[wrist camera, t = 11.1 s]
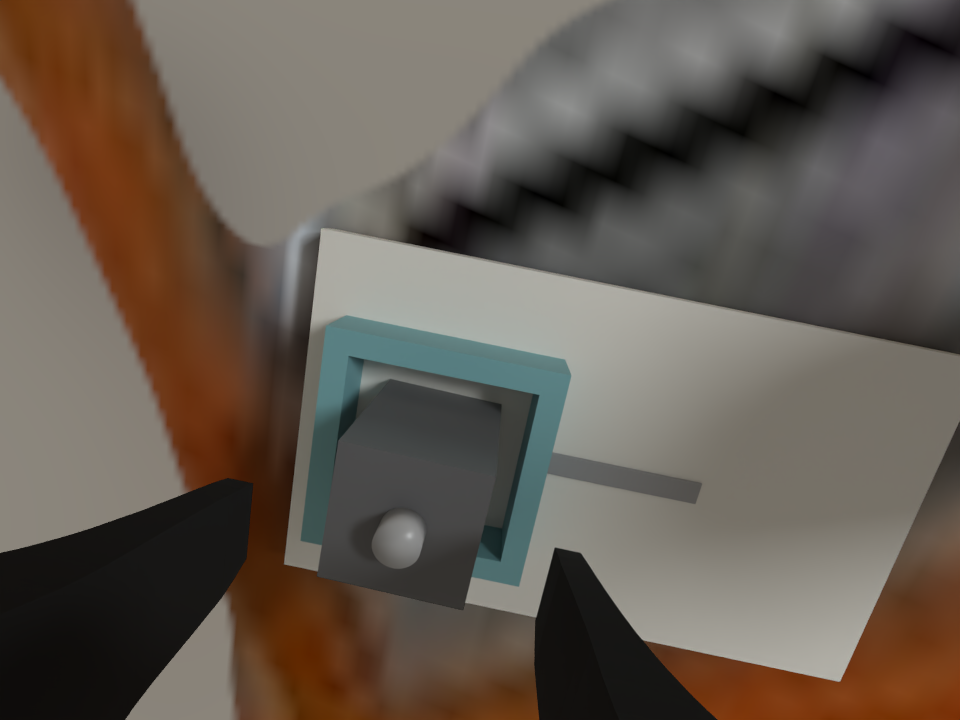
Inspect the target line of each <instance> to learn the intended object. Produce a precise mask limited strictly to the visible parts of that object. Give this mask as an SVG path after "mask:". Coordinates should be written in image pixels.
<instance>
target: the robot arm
mask: <svg viewBox="0 0 960 720" xmlns="http://www.w3.org/2000/svg"><path fill="white" fill-rule="evenodd" d="M252 490H253V483H248V482H244V481H239V480H234V479H229V478H227V479H224V480H220V481H217V482H214V483H212V484H209V485H206V486H204V487H201V488H198V489H196V490H193V491H191V492H188V493H186V494H183V495H181V496H178V497H176V498H173V499H170V500H168V501H166V502H163V503H160V504H157V505H155V506H152V507H150V508H147V509H145V510H142V511H139V512H136V513H134V514H131V515H128V516H125V517H122V518H119V519H116V520H114V521H111V522H108V523H105V524H102V525H100V526H96V527H94V528H91V529H88V530H84V531H81V532H78V533H75V534H72V535H68V536H65V537H61V538H58V539H54V540H50V541H47V542H44V543H40V544H36V545H32V546H29V547H24V548H20V549H16V550H12V551H7V552H3V553H0V720H125V719H126V718H127V716H128V715H129V713H130V712H131V710H132V709H133V707H134V706H135V705H136V703H137V702H138V701H139V699H140V698H141V697H142V696H143V694H144V693H145V692H146V690H147V689H148V688H149V686H150V685H151V684H152V682H153V681H154V680H155V679H156V677H157V676H158V675H159V674H160V673H161V672H162V670H163V669H164V668H165V667H166V666H167V664H168V663H169V662H170V661H171V659H172V658H173V657H174V656H175V654H176V653H177V652H178V651H179V650H180V649H181V647H182V646H183V645H184V644H185V642H186V641H187V640H188V639H189V638H190V636H191V635H192V634H193V633H194V631H195V630H196V629H197V628H198V626H199V625H200V624H201V623H202V622H203V620H204V619H205V618H206V617H207V615H208V614H209V613H210V612H211V610H212V609H213V608H214V607H215V606H216V604H217V603H218V602H219V600H220V599H221V598H222V597H223V595H224V594H225V592H226V590H227V589H228V587H229V586H230V584H231V583H232V581H233V580H234V578H235V576H236V575H237V573H238V571H239V570H240V568H241V566H242V565H243V563H244V561H245V560H246V558H247V546H248V535H249V524H250V512H251V501H252ZM534 665H535V677H536V688H537V700H538V710H539V720H717V719H716V718H715V717H714V716H713V715H712V714H711V713H710V712H708V711H707V710H706V709H705V708H704V707H703V706H702V705H701V704H700V703H699V702H698V701H697V700H696V699H695V698H694V697H693V696H692V695H691V694H690V693H689V692H688V691H687V690H686V689H685V688H684V687H683V686H682V685H681V684H680V682H679V681H678V680H677V679H676V678H675V677H674V676H673V675H672V674H671V673H670V672H669V671H668V670H667V669H666V668H665V666H664V665H663V664H662V663H661V662H660V661H659V660H658V658H657V657H656V656H655V655H654V654H653V653H652V651H651V650H650V649H649V648H648V646H647V645H646V644H645V643H644V641H643V640H642V639H641V638H640V636H639V635H638V634H637V633H636V631H635V630H634V629H633V628H632V626H631V625H630V624H629V622H628V621H627V620H626V618H625V617H624V616H623V614H622V613H621V611H620V610H619V609H618V607H617V606H616V604H615V603H614V602H613V600H612V599H611V597H610V596H609V594H608V593H607V592H606V590H605V589H604V587H603V586H602V584H601V583H600V581H599V580H598V578H597V577H596V575H595V574H594V572H593V570H592V569H591V567H590V566H589V564H588V563H587V561H586V560H585V558H584V557H583V555H582V554H581V553H579V552H575V551H570V550H565V549H560V548H556V547H555V548H554V552H553V556H552V560H551V564H550V567H549V571H548V575H547V579H546V582H545V586H544V590H543V594H542V598H541V601H540V605H539V609H538V613H537V617H536V621H535V662H534Z"/></svg>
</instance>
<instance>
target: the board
mask: <svg viewBox="0 0 960 720" xmlns="http://www.w3.org/2000/svg"><path fill="white" fill-rule="evenodd" d="M390 379H394V380H398V381H402V382H407V383H411V384H415V385H420V386H424V387H429V388H433V389H437V390H442V391H446V392H450V393H455V394H459V395H464V396H468V397H472V398H477V399H481V400H486V401H490V402H494V403H499V404H502V407H501V421H500V434H499V448H498V462H497V475H496V480H495V484H494V488H493V492H492V496H491V500H490V504H489V509H488V513H487V517H486V521H485V525H484V529H483V533H482V537H481V541H480V545H479V549H478V553H477V557H476V561H475V565H474V569H473V573H472V577H471V581H470V585H469V589H468V593H467V597H466V601H465V603H470V604H475V605H479V606H484V607H489V608H493V609H498V610H503V611H508V612H512V613H517V614H522V615H527V616H531V617H537V613H538V609H539V605H540V601H541V598H542V594H543V590H544V586H545V582H546V579H547V575H548V571H549V567H550V564H551V560H552V556H553V552H554V548H555V547H556V548H560V549H565V550H570V551H575V552H579V553H581V554H582V555H583V557H584V558H585V560H586V561H587V563H588V564H589V566H590V567H591V569H592V570H593V572H594V574H595V575H596V577H597V578H598V580H599V581H600V583H601V584H602V586H603V587H604V589H605V590H606V592H607V593H608V594H609V596H610V597H611V599H612V600H613V602H614V603H615V604H616V606H617V607H618V609H619V610H620V611H621V613H622V614H623V616H624V617H625V618H626V620H627V621H628V622H629V624H630V625H631V626H632V628H633V629H634V630H635V631H636V633H637V634H638V635H639V636H640V638H641V639H642V640H645V641H649V642H654V643H659V644H664V645H668V646H673V647H678V648H683V649H687V650H692V651H697V652H701V653H706V654H711V655H716V656H720V657H725V658H730V659H735V660H739V661H744V662H749V663H754V664H758V665H763V666H768V667H772V668H777V669H782V670H787V671H791V672H796V673H801V674H806V675H810V676H815V677H820V678H824V679H829V680H834V681H839V682H840V680H841V678H842V676H843V674H844V672H845V669H846V667H847V665H848V663H849V661H850V659H851V656H852V654H853V652H854V650H855V648H856V646H857V643H858V641H859V639H860V637H861V635H862V632H863V630H864V628H865V626H866V624H867V622H868V619H869V617H870V615H871V613H872V611H873V609H874V606H875V604H876V602H877V600H878V598H879V595H880V593H881V591H882V589H883V587H884V585H885V582H886V580H887V578H888V576H889V574H890V572H891V569H892V567H893V565H894V563H895V561H896V558H897V556H898V554H899V552H900V550H901V548H902V545H903V543H904V541H905V539H906V537H907V535H908V532H909V530H910V528H911V526H912V524H913V521H914V519H915V517H916V515H917V513H918V511H919V508H920V506H921V504H922V502H923V500H924V498H925V495H926V493H927V491H928V489H929V487H930V484H931V482H932V480H933V478H934V476H935V474H936V471H937V469H938V467H939V465H940V463H941V461H942V458H943V456H944V454H945V452H946V450H947V447H948V445H949V443H950V441H951V439H952V437H953V434H954V432H955V430H956V428H957V426H958V423H959V421H960V354H955V353H950V352H945V351H940V350H935V349H930V348H925V347H920V346H915V345H910V344H905V343H900V342H895V341H890V340H885V339H880V338H875V337H870V336H866V335H861V334H856V333H851V332H846V331H841V330H836V329H831V328H826V327H821V326H816V325H811V324H806V323H801V322H796V321H791V320H786V319H781V318H776V317H771V316H766V315H761V314H756V313H751V312H746V311H741V310H736V309H731V308H726V307H721V306H716V305H711V304H706V303H701V302H696V301H691V300H686V299H681V298H676V297H671V296H666V295H661V294H656V293H651V292H646V291H641V290H636V289H631V288H626V287H621V286H616V285H611V284H606V283H601V282H596V281H591V280H586V279H582V278H577V277H572V276H567V275H562V274H557V273H552V272H547V271H542V270H537V269H532V268H527V267H522V266H517V265H512V264H507V263H502V262H497V261H492V260H487V259H482V258H477V257H472V256H467V255H462V254H457V253H452V252H447V251H442V250H437V249H432V248H427V247H422V246H417V245H412V244H407V243H402V242H397V241H392V240H387V239H382V238H377V237H372V236H367V235H362V234H357V233H352V232H347V231H342V230H337V229H332V228H321V236H320V245H319V254H318V263H317V272H316V281H315V290H314V299H313V308H312V317H311V326H310V335H309V344H308V353H307V362H306V371H305V380H304V389H303V398H302V407H301V416H300V425H299V434H298V443H297V452H296V461H295V470H294V479H293V488H292V497H291V506H290V515H289V524H288V533H287V542H286V551H285V560H284V564H285V565H290V566H295V567H300V568H304V569H309V570H314V571H318V566H319V560H320V554H321V548H322V541H323V535H324V529H325V522H326V516H327V510H328V503H329V497H330V491H331V484H332V478H333V472H334V466H335V459H336V453H337V447H338V440H339V439H340V438H341V437H342V436H343V435H344V433H345V432H346V431H347V430H348V429H349V427H350V426H351V425H352V424H353V423H354V421H355V420H356V419H357V418H358V417H359V416H360V414H361V413H362V412H363V411H364V410H365V408H366V407H367V406H368V405H369V404H370V402H371V401H372V400H373V399H374V398H375V397H376V395H377V394H378V393H379V392H380V391H381V389H382V388H383V387H384V386H385V385H386V383H387V382H388V381H389V380H390Z"/></svg>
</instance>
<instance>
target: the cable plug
mask: <svg viewBox="0 0 960 720" xmlns="http://www.w3.org/2000/svg"><path fill="white" fill-rule="evenodd" d="M501 407H502V404H499V403H494V402H490V401H486V400H481V399H477V398H472V397H468V396H464V395H459V394H455V393H450V392H446V391H442V390H437V389H433V388H429V387H424V386H420V385H415V384H411V383H407V382H402V381H398V380H394V379H390V380H389V381H388V382H387V383H386V385H385V386H384V387H383V388H382V389H381V391H380V392H379V393H378V394H377V395H376V397H375V398H374V399H373V400H372V401H371V402H370V404H369V405H368V406H367V407H366V408H365V410H364V411H363V412H362V413H361V414H360V416H359V417H358V418H357V419H356V420H355V421H354V423H353V424H352V425H351V426H350V427H349V429H348V430H347V431H346V432H345V433H344V435H343V436H342V437H341V438H340V439H339V440H338V447H337V453H336V459H335V466H334V472H333V478H332V484H331V491H330V497H329V503H328V510H327V516H326V522H325V529H324V535H323V541H322V548H321V554H320V560H319V566H318V573H317V577H322V578H326V579H330V580H335V581H339V582H343V583H347V584H352V585H356V586H360V587H365V588H369V589H373V590H378V591H382V592H386V593H390V594H395V595H399V596H403V597H408V598H412V599H416V600H421V601H425V602H429V603H433V604H438V605H442V606H446V607H451V608H455V609H459V610H463V609H464V605H465V601H466V597H467V593H468V589H469V585H470V581H471V577H472V573H473V569H474V565H475V561H476V557H477V553H478V549H479V545H480V541H481V537H482V533H483V529H484V525H485V521H486V517H487V513H488V509H489V504H490V500H491V496H492V492H493V488H494V484H495V480H496V475H497V462H498V448H499V434H500V421H501Z"/></svg>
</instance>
